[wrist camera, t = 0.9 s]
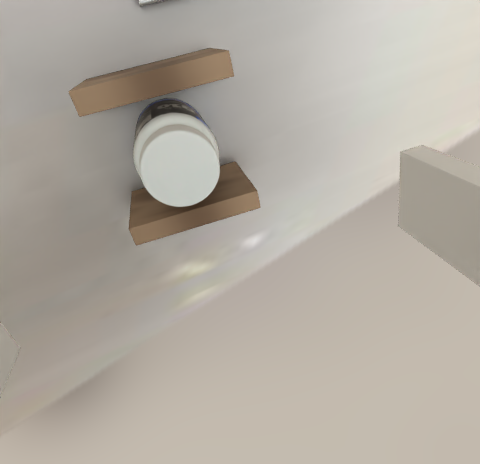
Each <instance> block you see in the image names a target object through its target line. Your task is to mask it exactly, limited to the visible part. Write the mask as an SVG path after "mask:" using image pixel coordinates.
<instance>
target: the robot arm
mask: <svg viewBox="0 0 480 464" xmlns="http://www.w3.org/2000/svg"><path fill="white" fill-rule="evenodd" d="M398 226H399V227H400V228H401V229H403V230H404V231H406V232H407V233H408V234H409V235H411V236H412V237H413V238H415V239H416V240H417V241H419V242H420V243H422V244H423V245H424V246H426V247H427V248H429V249H430V250H431V251H432V252H434V253H435V254H437V255H438V256H439V257H441V258H442V259H443V260H444V261H446V262H447V263H449V264H450V265H451V266H453V267H454V268H455V269H457V270H458V271H459V272H461V273H462V274H463V275H465V276H466V277H467V278H469V279H470V280H471V281H473V282H474V283H476V284H477V285H478V286H480V167H479V166H476V165H474V164H471V163H468V162H466V161H463V160H461V159H458V158H455V157H453V156H450V155H448V154H445V153H442V152H440V151H437V150H435V149H432V148H429V147H427V146H424V145H421V146H418V147H414V148H411V149H408V150H404V151H401V152H400V183H399V216H398ZM20 348H21V347H20V346H19V345H18V344H17V342H16V341H15V340H14V339H13V337H12V336H11V335H10V334H9V332H8V331H7V330H6V329H5V327H4V326H3V325H2V324H1V322H0V397H1V395H2V392H3V390H4V388H5V385H6V383H7V380H8V378H9V375H10V373H11V370H12V368H13V365H14V363H15V360H16V358H17V355H18V353H19V351H20Z"/></svg>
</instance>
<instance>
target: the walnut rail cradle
mask: <svg viewBox="0 0 480 464" xmlns="http://www.w3.org/2000/svg"><path fill="white" fill-rule="evenodd" d="M233 76H234V74H233V69H232V64H231V59H230V54H229V51H228V50H220V49H213V48H208V49H204V50H200V51H196V52H192V53H188V54H184V55H180V56H176V57H173V58H169V59H165V60H161V61H157V62H153V63H149V64H145V65H141V66H137V67H133V68H129V69H125V70H121V71H117V72H113V73H109V74H106V75H102V76H98V77H94V78H90V79H86V80H85V81H83V82H82V83H80V84H79V85H77V86H76V87H74V88H73V89H72V90H70V91H69V94H70V96H71V99H72V101H73V103H74V105H75V108H76V110H77V112H78V115H79V117H81V116H85V115H89V114H93V113H96V112H100V111H104V110H108V109H112V108H115V107H119V106H123V105H127V104H130V103H134V102H138V101H142V100H146V99H149V98H153V97H157V96H161V95H165V94H168V93H172V92H176V91H180V90H184V89H187V88H191V87H195V86H199V85H202V84H206V83H210V82H214V81H218V80H221V79H225V78H229V77H233ZM258 208H261V207H260V202H259V197H258V193H257V190H256V188H255V187H254V186H253V184H252V183H251V182H250V180H249V179H248V178H247V176H246V175H245V174H244V172H243V171H242V170H241V168H240V167H239V166H238V164H237V163H236V162H232V163H229V164H225V165H222V166H220V174H219V179H218V182H217V184H216V186H215V188H214V189H213V191H212V192H211V193H210V194H209V195H208V196H207V197H206V198H205V199H204V200H202V201H200V202H198V203H196V204H194V205H190V206H184V207H175V206H170V205H167V204H164V203H162V202H160V201H158V200H157V199H155V198H154V197H153V196H152V195H151V194H150V193H149V192H148V191H147V189H146V188H142V189H139V190H135V191H132V195H131V208H130V220H129V231H130V233H131V235H132V237H133V240H134V242H135V244H136V245H140V244H143V243H146V242H150V241H153V240H156V239H159V238H163V237H166V236H169V235H172V234H176V233H179V232H182V231H186V230H189V229H192V228H195V227H199V226H202V225H205V224H209V223H212V222H215V221H218V220H222V219H225V218H228V217H231V216H235V215H238V214H241V213H245V212H248V211H251V210H254V209H258Z"/></svg>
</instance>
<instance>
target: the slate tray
mask: <svg viewBox="0 0 480 464" xmlns="http://www.w3.org/2000/svg"><path fill="white" fill-rule="evenodd" d="M161 1H165V0H138V2H139V5H140V6H144V5H148V4H153V3H157V2H161Z"/></svg>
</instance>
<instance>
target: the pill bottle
mask: <svg viewBox="0 0 480 464" xmlns="http://www.w3.org/2000/svg"><path fill="white" fill-rule="evenodd" d="M133 159H134V164H135V167H136V170H137V172H138V174H139V176H140V177H141V180H142V182H143V185H144V186H145V188H146V189H147V191H148V192H149V193H150V194H151V195H152V196H153V197H154V198H155V199H157V200H158V201H160V202H162V203H164V204H167V205H170V206H175V207H184V206H190V205H194V204H196V203H198V202H200V201H202V200H204V199H205V198H206V197H207V196H208V195H209V194H210V193H211V192H212V191H213V189H214V188H215V186H216V184H217V182H218V179H219V174H220V163H219V149H218V145H217V142H216V139H215V137H214V135H213V133H212V132H211V130H210V129H209V128H208V126H207V125H206V123H205V122H204V120H203V119H202V118H201V116H200V115H199V113H198V112H197V111H196V110H195V109H194V108H193V107H191V106H190V105H189V104H187V103H185V102H183V101H181V100H177V99H172V98H166V99H161V100H158V101H155V102H153V103H151V104H150V105H148V106H147V107H146V108H145V109H144V110H143V112H142V113H141V115H140V117H139V119H138V122H137V125H136V132H135V140H134V147H133Z"/></svg>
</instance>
